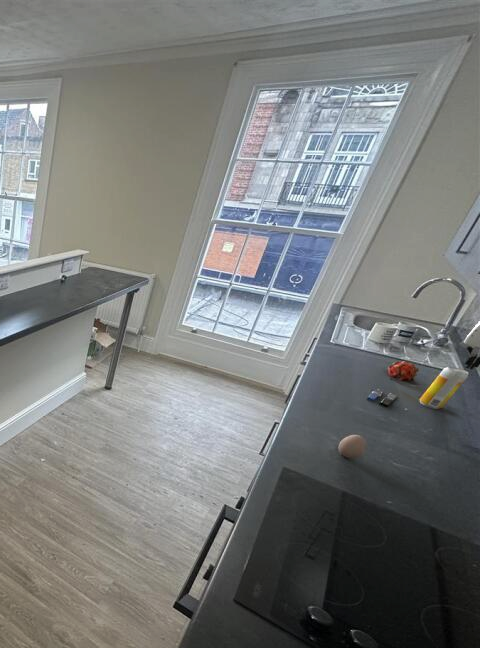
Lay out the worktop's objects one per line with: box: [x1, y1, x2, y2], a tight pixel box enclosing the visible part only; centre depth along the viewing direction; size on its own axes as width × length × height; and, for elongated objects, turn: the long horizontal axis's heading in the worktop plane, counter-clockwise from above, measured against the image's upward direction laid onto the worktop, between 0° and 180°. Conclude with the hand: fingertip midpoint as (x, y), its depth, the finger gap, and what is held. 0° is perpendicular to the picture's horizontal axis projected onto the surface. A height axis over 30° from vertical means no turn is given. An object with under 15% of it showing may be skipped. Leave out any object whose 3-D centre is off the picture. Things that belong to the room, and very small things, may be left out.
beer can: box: [418, 366, 469, 410], centre depth 145 cm, size 6×6×15 cm
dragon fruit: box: [386, 360, 420, 382], centre depth 164 cm, size 8×8×12 cm
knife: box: [379, 392, 398, 408], centre depth 149 cm, size 16×2×1 cm, turn 126°
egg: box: [338, 434, 367, 459], centre depth 113 cm, size 5×5×7 cm
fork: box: [366, 388, 384, 402], centre depth 151 cm, size 15×3×1 cm, turn 126°
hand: (469, 367), depth 134 cm, fingers closed
